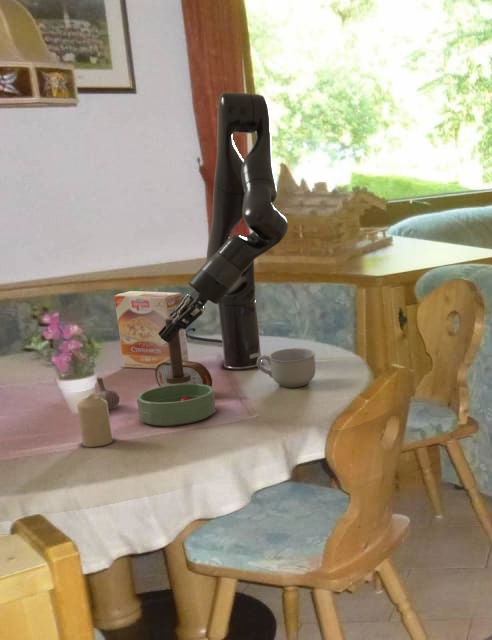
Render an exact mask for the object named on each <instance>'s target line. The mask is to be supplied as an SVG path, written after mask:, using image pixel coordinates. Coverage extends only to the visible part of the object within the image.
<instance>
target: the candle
mask: <svg viewBox="0 0 492 640" xmlns="http://www.w3.org/2000/svg"><path fill="white" fill-rule="evenodd" d="M90 395H91V394H90ZM90 395H88V396H87V397H85V398H82V400H80V401H79V402H78V403H77V404H76V407H77V414H78V422H79V428H80V434H81V441H82V445H83V446H84V447H86V448H87V447H88V448H94V447H95V448H96V447H102V446H106V445H109V444H110V443H112V442H113V433H112V426H111V419H110V412H109V411H110V410H109V411H108V404H107V401H106V400H104V399H102V398H101V397H98V396H97V395H91V396H90Z"/></svg>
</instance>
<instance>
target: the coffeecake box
mask: <svg viewBox="0 0 492 640" xmlns="http://www.w3.org/2000/svg"><path fill="white" fill-rule="evenodd" d="M181 299H182V293H181V292H168V291H167V292H166V291H165V292H164V291H141V290H140V291H139V290H135V291H134V290H129V291H126V292H122V293H118V294H115V295H114V305H115V311H116V319H117V325H118V334H119V342H120V349H121V356H122V364H123V365H122V366H123V368H133V369H135V368H136V369H154V370H156V367H157V366H158V365H159V364H160V363H162V362H165V361H166V360H168V359H170V355H169V347H168V342H166V341H164V340H163V339H161V337H160V336H159V334H158V333H159V332H160V330H161V329H162V328H163V327H164V326H165V325H166V322H165V319H167V318H170V314H171V313H172V312H173V311H174V309H175V308H176V306H177V305H178V303H179V302H180V301H181ZM179 330H180V329H179ZM186 332H187V331H186V329H182V330H180V331H179V338H180V346H181V354H182V360H183V361H190V359H189V350H188V341H187V336H186Z"/></svg>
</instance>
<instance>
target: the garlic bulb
mask: <svg viewBox="0 0 492 640" xmlns="http://www.w3.org/2000/svg"><path fill="white" fill-rule="evenodd" d="M96 380H97V381H96V382H97V383H98V390H99V391H98V392H95V393H91V394H90V395H89V396H91V395H97V396H98V397H101V398H102V399H104V400H106V401H107V404H108V411H110V410H113V409H114V408H116V407H117V406H118V405H119V404H120V403H119V402H120V395H119V393H118V392H117V391H116V390H114V389H112V388H106V387H105V383H104V381H103V377H101V376H97V377H96Z"/></svg>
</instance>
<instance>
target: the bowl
mask: <svg viewBox="0 0 492 640" xmlns="http://www.w3.org/2000/svg"><path fill="white" fill-rule="evenodd" d="M183 397H189V398H191V399H189V400H184V401H180V400H181V399H182V398H183ZM215 399H216V398H215V390H214V387H213V386H212V387H211V386H208V385H203V384H192V383H189V384H174V385H166V386H161V387H159V386H157V387H154V388H150V389H147V390H144V391H142V392H139V394H138V395H137V396H136V401H137V408H138V409H137V410H138V416H139V421H140V422H142V423H143V424H148V425H151V426H157V427H174V426H182V425H189V424H193V423H197V422H200V421H202V420H204V419H207V418H208V417H211V416H212V415H214V414H215V412H216V411H217V409H216V408H217V407H216V400H215Z"/></svg>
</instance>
